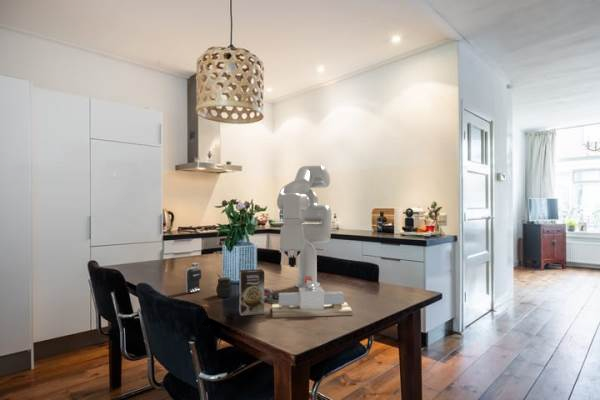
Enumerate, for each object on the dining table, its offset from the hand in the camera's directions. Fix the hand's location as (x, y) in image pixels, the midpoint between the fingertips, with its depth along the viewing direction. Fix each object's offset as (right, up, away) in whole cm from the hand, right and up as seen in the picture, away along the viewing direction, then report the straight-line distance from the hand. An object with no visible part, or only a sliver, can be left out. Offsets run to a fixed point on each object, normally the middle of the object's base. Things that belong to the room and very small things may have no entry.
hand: (292, 266), depth 146 cm
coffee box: (-15, -16, -11) cm, 25 cm away
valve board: (+8, -15, -10) cm, 20 cm away
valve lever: (+7, -7, -3) cm, 10 cm away
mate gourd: (-31, -16, +14) cm, 38 cm away
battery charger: (-47, -16, +20) cm, 54 cm away
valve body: (+8, -14, -10) cm, 19 cm away
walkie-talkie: (-11, -17, +9) cm, 22 cm away
